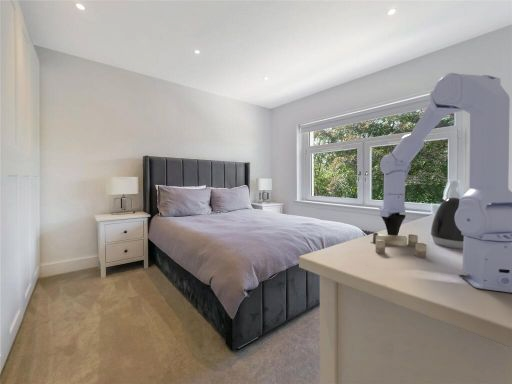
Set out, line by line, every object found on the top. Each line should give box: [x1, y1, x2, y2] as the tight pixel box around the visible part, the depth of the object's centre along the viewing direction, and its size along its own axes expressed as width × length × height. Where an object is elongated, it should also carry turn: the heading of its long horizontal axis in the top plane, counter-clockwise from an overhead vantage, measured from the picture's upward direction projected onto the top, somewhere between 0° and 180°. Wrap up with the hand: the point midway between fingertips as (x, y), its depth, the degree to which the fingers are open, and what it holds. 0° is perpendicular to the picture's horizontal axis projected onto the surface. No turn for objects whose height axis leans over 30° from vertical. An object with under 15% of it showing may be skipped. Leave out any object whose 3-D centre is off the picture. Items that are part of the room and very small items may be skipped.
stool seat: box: [370, 234, 427, 259], centre depth 64 cm, size 14×13×4 cm
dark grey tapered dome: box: [430, 197, 464, 250], centre depth 68 cm, size 10×10×15 cm
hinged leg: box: [372, 232, 408, 247], centre depth 69 cm, size 9×2×3 cm, turn 70°
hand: (392, 237), depth 73 cm, fingers closed
